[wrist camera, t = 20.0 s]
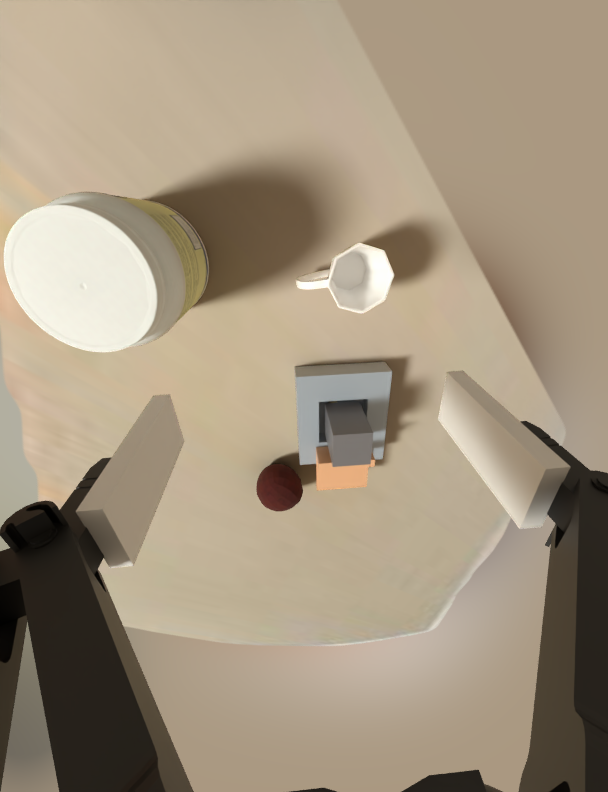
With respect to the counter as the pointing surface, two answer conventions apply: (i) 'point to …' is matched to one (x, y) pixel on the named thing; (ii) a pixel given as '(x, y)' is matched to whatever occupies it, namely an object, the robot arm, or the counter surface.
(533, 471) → the robot arm
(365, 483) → the orange l-shaped bracket
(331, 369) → the socket block
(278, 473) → the dark brown ball
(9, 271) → the supplement tub
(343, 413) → the plug
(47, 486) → the counter surface
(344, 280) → the cup
